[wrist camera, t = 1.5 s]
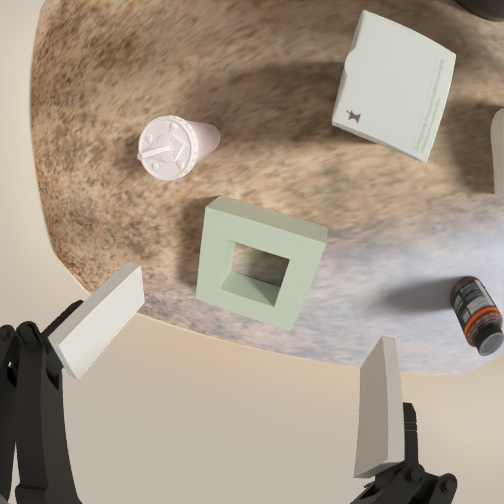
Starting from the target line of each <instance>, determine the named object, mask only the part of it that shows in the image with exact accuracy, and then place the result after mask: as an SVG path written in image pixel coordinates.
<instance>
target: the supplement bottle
mask: <svg viewBox="0 0 504 504" xmlns="http://www.w3.org/2000/svg"><path fill="white" fill-rule="evenodd" d="M451 304H452V307H453V309H454V311H455V313H456V316H457V318H458V320H459V323H460V325H461V327H462V330H463V332H464V335H465V337H466V340H467V342H468V344H469V345H471V346H472V347H476V348H477V349H478V352H479V354H480V355H482V356H487V355H490V354H492V353H494V352H495V351H496V350H497V349H498V348H499V347H500V346H501V344H502V343H503V340H504V335H503V332H502V330H501V327H502V322H503V320H502V316H501V314H500V312H499V310H498V308H497V307H496V305H495V303H494V302H493V300H492V299H491V297H490V295H489V294H488V292H487V290H486V289H485V287H484V286H483V284H482V283H481V282H480V280H479V279H477V278H475V277H468V278H465V279H463V280H461V281H460V282H459V283H458V284H457V285H456V286H455V288H454V289H453V291H452V294H451Z"/></svg>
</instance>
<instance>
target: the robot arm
mask: <svg viewBox="0 0 504 504" xmlns="http://www.w3.org/2000/svg"><path fill="white" fill-rule="evenodd" d="M455 1H457V2H458V3H459V4H461V5H462V6H463V7H465V8H466V9H468V10H469V11H471V12H473V13H474V14H476V15H478V16H480V17H482V18H485V19H487V20H490V21H495V22H502V21H504V0H455ZM144 303H145V301H144V293H143V284H142V274H141V265H140V264H137V263H134V262H131V261H129V262H128V263H127V264H126V265H125V266H123V267H122V268H121V269H120V270H119V271H118V272H117V273H115V274H114V275H113V276H112V277H111V278H110V279H109V280H107V281H106V282H105V283H104V284H103V285H102V286H101V287H100V288H99V289H97V290H96V291H95V292H94V293H93V294H92V295H91V296H90V297H89V298H88V299H87V300H86V301H82V300H79V301H77V302H74V303H72V304H71V305H70V306H69V307H68V308H67V309H66V310H65V311H64V312H62V313H61V315H60V316H58V317H57V318H56V319H55V320H54V321H53V322H52V323H51V324H50V325H49V326H48V327H47V328H46V329H45V330H44V331H43V332H42V333H40V332H39V329H38V327H37V326H36V324H35V323H33V322H32V321H26V322H23V323H21V324H20V325H19V326H18V327H17V328H16V331H15V330H14V328H13V327H12V326H11V325H4V326H2V327H0V504H9V503H8V499H9V496H10V491H11V482H12V470H13V459H14V451H15V443H16V449H17V460H18V469H19V476H20V483H19V485H18V486H16V488H15V497H16V501H17V504H82V503H81V501H80V500H79V498H78V496H77V493H76V489H75V485H74V480H73V476H72V471H71V466H70V460H69V454H68V448H67V440H66V433H65V423H64V410H63V391H62V371H61V370H62V368H63V367H64V368H65V370H66V371H67V373H68V374H69V375H71V376H72V377H73V378H75V379H76V380H78V381H79V380H80V378H81V377H82V376H83V375H84V373H85V372H86V371H87V369H88V368H89V367H90V366H91V365H92V363H93V362H94V361H95V360H96V358H97V357H98V356H99V355H100V354H101V352H102V351H103V350H104V349H105V348H106V346H107V345H108V344H109V343H110V342H111V341H112V339H113V338H114V337H115V336H116V335H117V333H118V332H119V331H120V330H121V329H122V328H123V327H124V325H125V324H126V323H127V322H128V321H129V320H130V318H131V317H132V316H133V315H134V314H135V313H136V312H137V311H138V309H139V308H140V307H141V306H142V305H143V304H144ZM9 362H11V365H10V367H9V366H8V365H9ZM416 431H417V425H416V412H415V410H414V408H413V406H412V403H405V402H404V403H403V401H402V390H401V380H400V371H399V363H398V356H397V349H396V342H395V338H391V337H386V336H382V337H381V338H380V340H379V341H378V343H377V344H376V346H375V347H374V349H373V350H372V352H371V353H370V355H369V356H368V358H367V359H366V361H365V362H364V363H363V365H362V366H361V368H360V408H359V426H358V440H357V451H356V462H355V469H354V478H370V477H373V476H375V481H373V482H371V483H368V484H366V485H365V486H364V488H366V487H367V488H366V489H365V490H364V491H363V492H362V493H361V494H360V495H359V496H358V497H357V498H356V499H355V500H354V501H353V502H351V503H350V504H451V502H452V500H453V497H454V495H455V492H456V489H457V479H456V477H455V476H454V475H452V474H449V473H447V474H444V475H442V476H440V477H439V476H435V475H432V474H429V473H427V472H425V470H424V468H423V467H422V465H420V464H419V462H418V438H417V432H416Z"/></svg>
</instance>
